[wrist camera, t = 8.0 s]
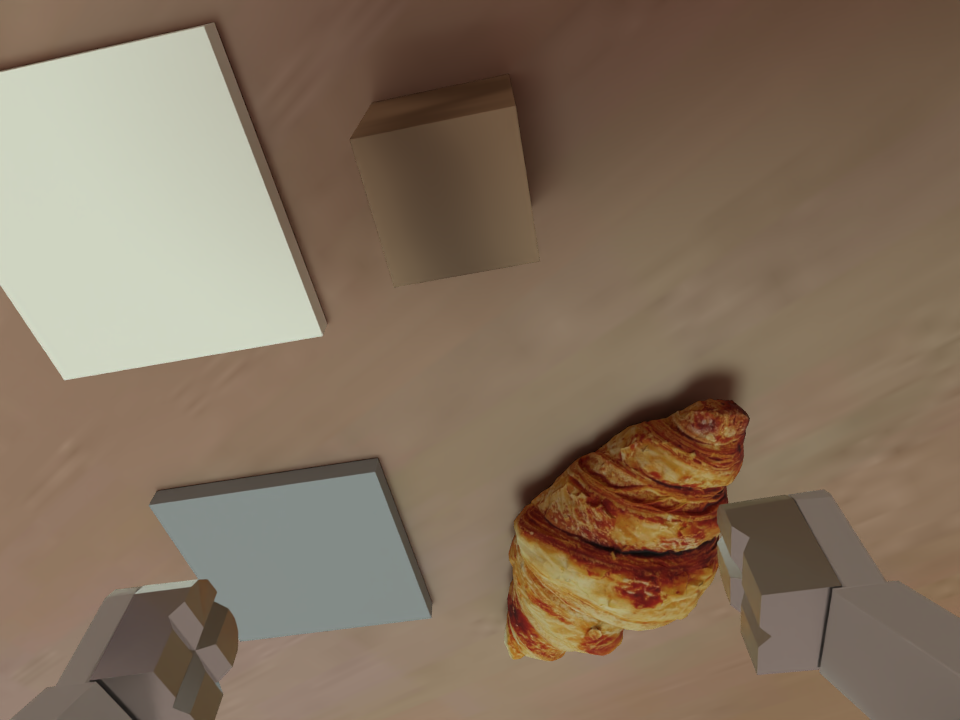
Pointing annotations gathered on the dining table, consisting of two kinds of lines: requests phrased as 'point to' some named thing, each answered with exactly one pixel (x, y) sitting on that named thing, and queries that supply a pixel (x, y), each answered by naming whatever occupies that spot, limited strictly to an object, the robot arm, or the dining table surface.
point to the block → (447, 181)
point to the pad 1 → (144, 210)
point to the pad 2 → (299, 549)
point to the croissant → (624, 534)
